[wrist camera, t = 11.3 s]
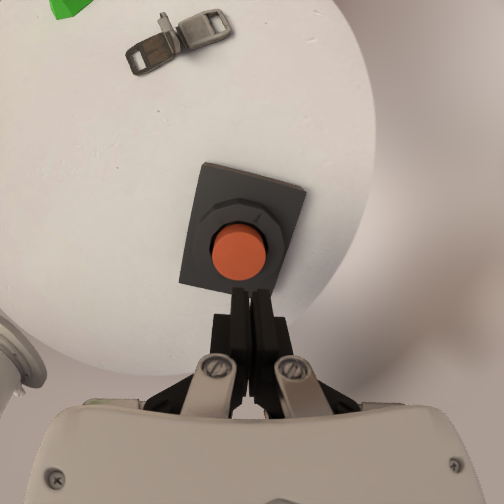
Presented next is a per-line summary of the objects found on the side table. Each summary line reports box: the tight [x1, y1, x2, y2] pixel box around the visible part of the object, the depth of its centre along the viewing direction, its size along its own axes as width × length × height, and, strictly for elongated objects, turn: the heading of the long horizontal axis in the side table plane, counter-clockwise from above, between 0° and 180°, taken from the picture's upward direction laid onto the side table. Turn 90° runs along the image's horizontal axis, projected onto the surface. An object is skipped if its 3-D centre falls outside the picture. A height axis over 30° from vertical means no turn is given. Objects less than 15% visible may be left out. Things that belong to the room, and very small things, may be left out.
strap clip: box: [125, 9, 231, 75], centre depth 14 cm, size 8×3×4 cm, turn 112°
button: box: [212, 224, 266, 280], centre depth 19 cm, size 4×4×2 cm
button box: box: [179, 162, 306, 298], centre depth 22 cm, size 10×8×4 cm
